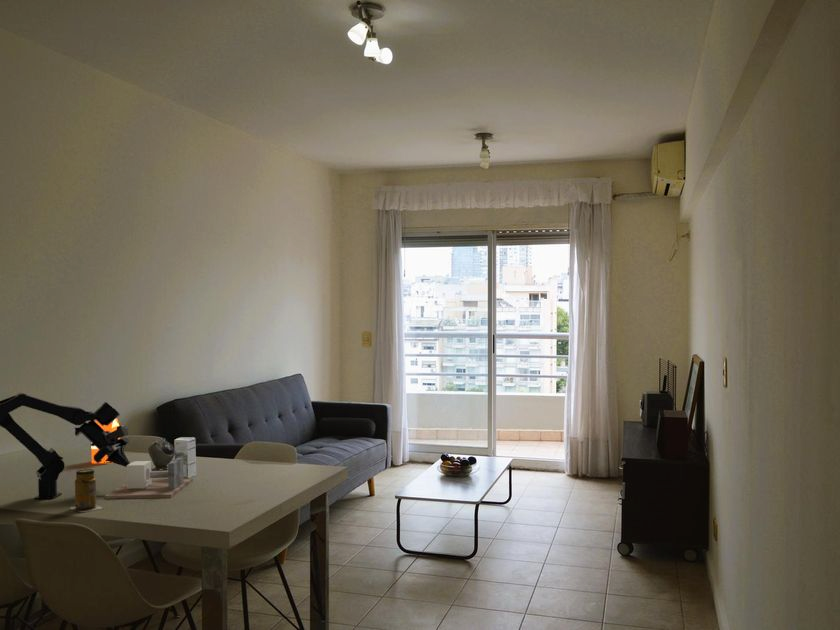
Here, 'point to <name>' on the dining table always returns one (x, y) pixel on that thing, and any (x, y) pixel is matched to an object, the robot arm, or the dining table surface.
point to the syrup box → (186, 455)
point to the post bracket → (157, 484)
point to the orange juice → (110, 427)
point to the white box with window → (138, 474)
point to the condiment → (85, 491)
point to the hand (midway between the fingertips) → (129, 466)
